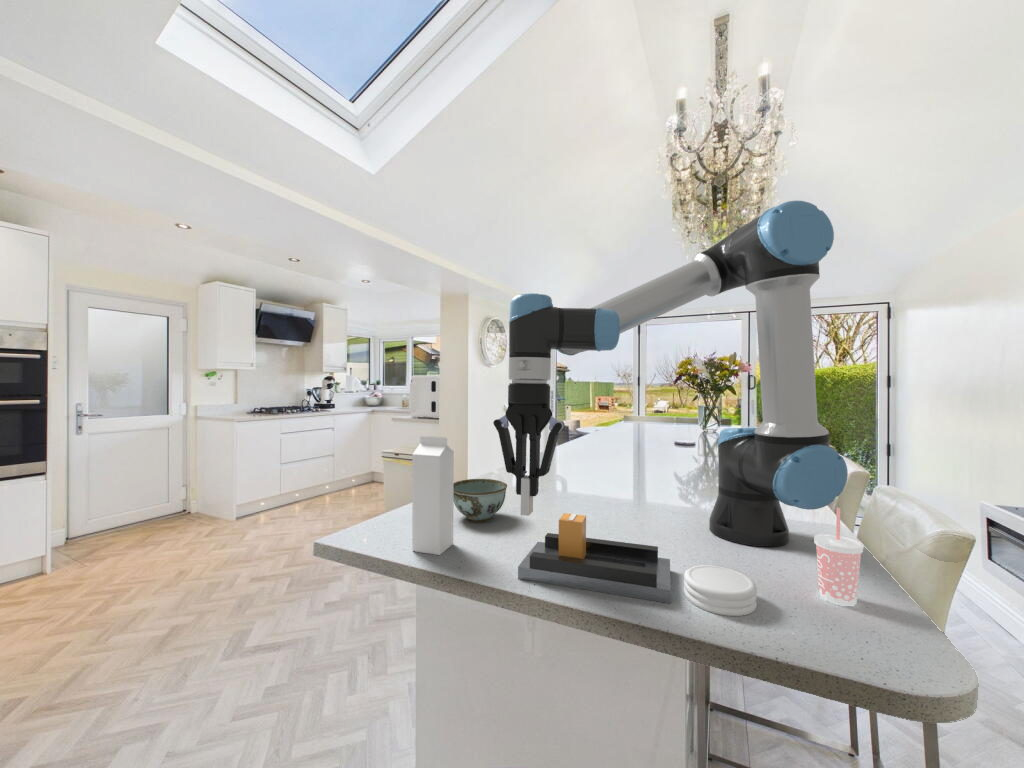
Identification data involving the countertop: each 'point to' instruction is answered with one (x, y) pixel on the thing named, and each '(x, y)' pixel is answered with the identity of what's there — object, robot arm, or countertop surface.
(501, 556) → the countertop surface
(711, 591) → the coaster
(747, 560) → the countertop surface
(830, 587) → the beverage cup
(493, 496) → the bowl
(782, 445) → the robot arm
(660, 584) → the panel
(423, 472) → the milk
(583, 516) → the lever
